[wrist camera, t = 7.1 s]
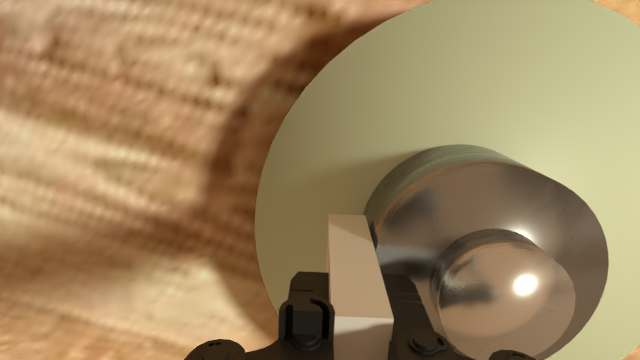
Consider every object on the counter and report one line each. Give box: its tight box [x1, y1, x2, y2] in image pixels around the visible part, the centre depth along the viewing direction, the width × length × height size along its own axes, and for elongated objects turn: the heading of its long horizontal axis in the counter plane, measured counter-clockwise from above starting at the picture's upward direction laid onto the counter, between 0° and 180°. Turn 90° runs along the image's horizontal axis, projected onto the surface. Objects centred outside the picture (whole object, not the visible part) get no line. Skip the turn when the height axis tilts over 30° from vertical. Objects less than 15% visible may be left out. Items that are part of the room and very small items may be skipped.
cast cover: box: [363, 144, 609, 360], centre depth 14 cm, size 8×8×6 cm
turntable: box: [254, 0, 640, 360], centre depth 15 cm, size 20×20×7 cm
